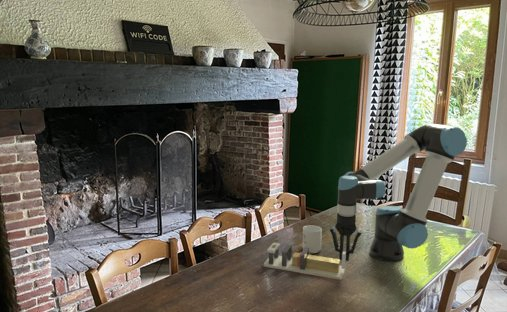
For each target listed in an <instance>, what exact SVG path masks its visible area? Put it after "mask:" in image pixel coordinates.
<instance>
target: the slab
mask: <svg viewBox="0 0 507 312" xmlns="http://www.w3.org/2000/svg"><path fill="white" fill-rule="evenodd" d="M263 267H264V268H271V269H276V270H281V271H289V272H293V273H300V274H305V275H311V276H315V277H316V276H317V277H323V278H328V279H334V280H339V281H342V280H343V278H344V274H345V272H346V268H347V267H346V268H345V269H341V268H342V264H340V270H339V273H335V272H329V271H323V270H317V269H312V268H306V267H305V270H302V269H300V267H299V266H294V265H292V257H291V260H287V266H286V267H285V266H282V255H279V257H278V258H275V257H274V264H269V257H268V258H267V259H266V261H265V262H264V263H263Z"/></svg>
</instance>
